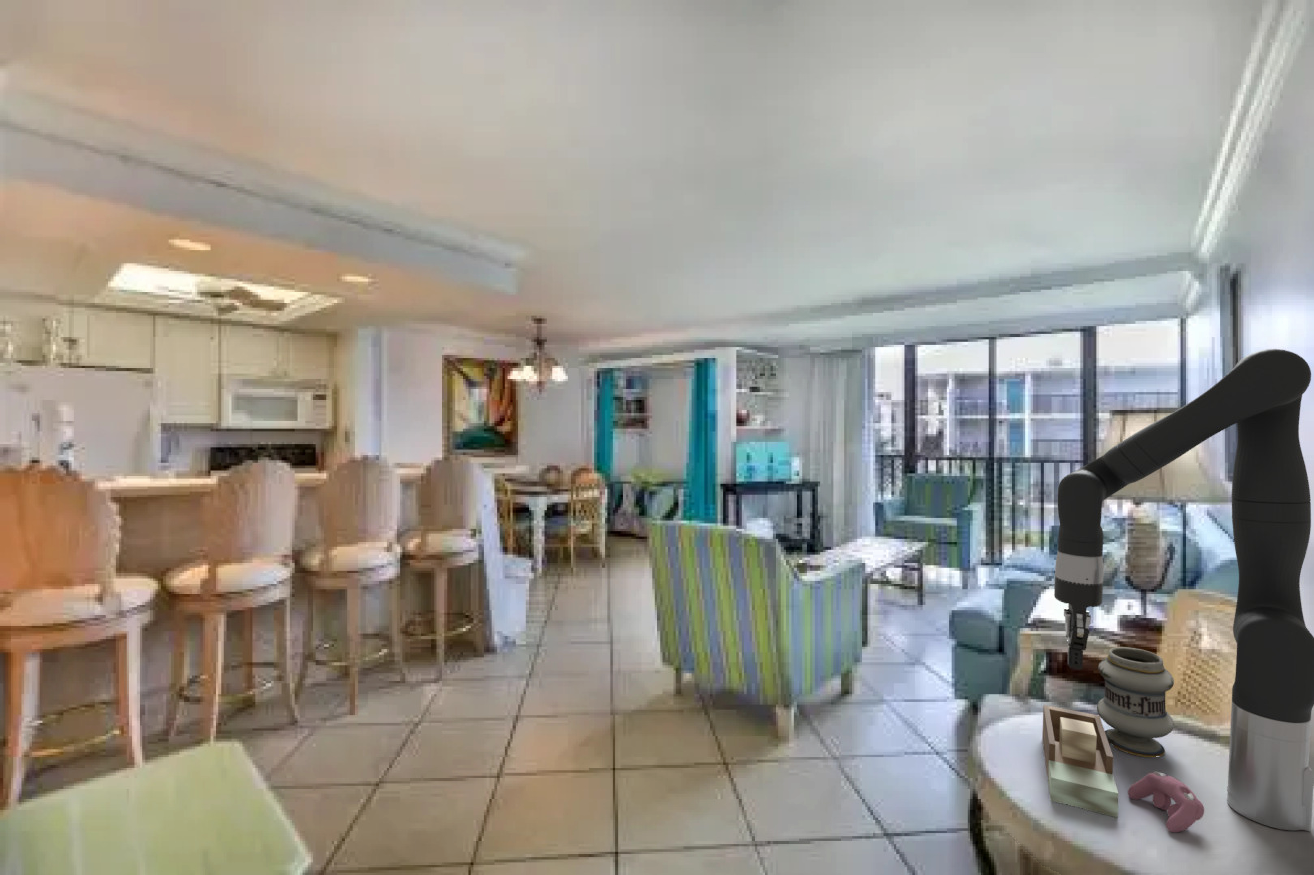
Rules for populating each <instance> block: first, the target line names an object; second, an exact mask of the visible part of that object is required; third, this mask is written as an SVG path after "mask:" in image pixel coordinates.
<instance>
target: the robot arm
mask: <svg viewBox="0 0 1314 875" xmlns="http://www.w3.org/2000/svg"><path fill="white" fill-rule="evenodd" d="M1311 381H1312V371H1311V368H1310V366H1309V363H1308V362H1307V361H1306V360H1305V359H1304V358H1303V357H1302V356H1301V355H1299V354H1297V353H1296V352H1292V351H1290V350H1286V349H1280V348H1279V349H1277V348H1269V349H1267V348H1266V349H1262V350H1257V351H1255V352H1252V353H1249V354H1248V355H1246V356H1244V357H1242V358H1241V359H1240V360H1239V361H1238V362H1237V363H1236V364H1235V365H1234V367H1233V368H1232V369H1231V370H1230V371H1229V372H1228V373H1227V374H1226V375H1224V376H1223V377H1222V378H1220V380H1219V381H1217V382H1216V383H1215V384H1214V385H1213V386H1212V387H1210V388H1209V389H1208V390H1206V391H1205V392H1203V393H1202V394H1200V395H1199V396H1197V397H1196V398H1194V399H1193V400H1192V401H1190V402H1188V403H1186V404H1185V405H1184V406H1182V407H1180V408H1179V409H1176V410H1175V411H1173V412H1171V413H1170V414H1167V415H1166V416H1164V417H1162V418H1160V419H1158V420H1156V421H1154V422H1152V423H1151V424H1149V425H1147V426H1145V427H1143V428H1142V429H1140V430H1138V431H1137V432H1135V433H1133V434H1132V435H1130V436H1129V437H1126V439H1124V440H1122V441H1121V442H1119V443H1117V444H1116V445H1115V446H1113V447H1111V448H1110V449H1109V450H1107V451H1106V452H1105V453H1104V454H1103V455H1101V456H1099V457H1098V458H1096V459H1094V460H1092V461H1091V462H1088V463H1087V464H1086V465H1083V466H1082V467H1080V468H1078V469H1076V470H1074V471H1073V472H1070V473H1068V474H1067V475H1064V477H1063V478H1062V479H1061V480H1060V481H1059V484H1058V488H1057V496H1056V498H1057V513H1058V520H1059V521H1058V522H1059V526H1058V535H1057V536H1058V539H1057V552H1056V553H1057V554H1056V558H1055V566H1054V568H1055V570H1054V572H1055V573H1054V594H1053V596H1054V598H1055V600H1057V601H1059V602H1060V603H1063V604H1068V605H1067V606H1068V608H1067V607H1065V608H1063V616H1064V619H1065V620H1064V631H1065V637H1066V643H1067V647H1068V649H1067V666H1068V668H1070V669H1074V670H1082V669H1083V660H1084V658H1083V657H1084V651H1086V650H1087V644H1088V640H1089V634H1090V625H1091V624H1092V622H1091V621H1092V619H1091V618H1092V616H1091V614H1090V611H1089V610H1087V608H1095V607H1099V606H1102V603H1103V593H1104V572H1105V571H1104V558H1103V552H1104V549H1103V548H1104V531H1103V528H1102V525H1101V524H1102V513H1103V512H1102V511H1103V510H1102V508H1103V501H1105V500H1106V499H1108V498H1110V497H1111V496H1113V495H1114V494H1116V493H1117V492H1119V491H1121V490H1123V489H1124V488H1125V487H1126V486H1128V485H1130V484H1134V483H1136V482H1138V481H1141V480H1143V479H1144V478H1146V477H1149V476H1150V475H1152V474H1154V473H1156V472H1157V471H1159V470H1161V469H1162V468H1164V467H1166V466H1167V465H1168V464H1171V463H1172V462H1174V461H1175V460H1177V459H1178V458H1180V457H1182V456H1183V455H1185V454H1186V453H1188V452H1189V451H1191V450H1192V449H1194V448H1195V447H1197V446H1199V445H1200V444H1203V442H1205V441H1207V440H1208V439H1210V438H1211V437H1213V436H1215V435H1217V434H1218V433H1220V432H1222V431H1224V430H1226V429H1228V428H1229V427H1232V426H1234V425H1236V430H1237V431H1236V432H1237V444H1236V450H1235V457H1234V463H1233V472H1232V479H1231V480H1232V481H1231V482H1232V483H1231V521H1232V533H1233V534H1232V535H1233V542H1234V551H1235V557H1236V561H1237V567H1238V586H1237V598H1236V604H1235V612H1234V618H1233V624H1232V625H1233V626H1232V631H1233V632H1232V633H1233V637H1234V640H1235V642H1236V660H1235V676H1234V677H1235V678H1234V682H1233V685H1232V688H1231V689H1232V690H1231V691H1232V692H1231V706H1230V707H1231V709H1230V710H1231V711H1230V731H1229V732H1230V733H1229V734H1230V735H1229V751H1228V752H1229V753H1228V773H1227V787H1226V791H1227V794H1226V796H1227V799H1226V801H1227V803H1228V805H1229V806H1230V807H1231V809H1233V811H1236V813H1238V814H1240V815H1241V816H1243V817H1245V818H1247V819H1249V820H1251V821H1254V822H1255V823H1259V824H1261V825H1264V826H1267V827H1270V828H1275V829H1278V830H1286V831H1301V830H1303V831H1306V832H1312V820H1313V819H1312V818H1313V799H1314V770H1313V769H1311V767H1310V766H1309V763H1310V762H1309V759H1310V758H1309V756H1310V744H1311V743H1310V742H1311V740H1310V739H1311V721H1312V709H1313V708H1314V635H1312V633H1311V632H1310V630H1309V628H1307V626H1306V621H1305V617H1304V613H1303V608H1302V605H1303V604H1302V598H1301V596H1302V595H1301V587H1300V586H1301V584H1300V583H1301V572H1302V569H1303V565H1304V561H1305V559H1306V554H1307V550H1308V546H1309V543H1310V538H1311V537H1310V536H1311V530H1312V529H1311V528H1312V512H1311V511H1312V510H1311V509H1312V508H1311V507H1312V506H1311V505H1312V504H1311V491H1310V490H1311V489H1310V483H1309V477H1308V472H1307V467H1306V463H1305V460H1304V459H1305V458H1304V456H1303V450H1302V447H1301V442H1300V433H1299V432H1300V430H1299V429H1300V427H1299V425H1300V417H1301V416H1300V415H1301V405H1302V399H1303V394H1305V392H1306V391H1307V390H1308V388H1309V386H1310V383H1311Z"/></svg>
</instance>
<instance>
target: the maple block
mask: <svg viewBox="0 0 1314 875" xmlns="http://www.w3.org/2000/svg"><path fill="white" fill-rule="evenodd" d="M1096 740H1097V735H1096V732H1095V729H1094V725H1093V723H1089V722H1084V721H1079V720H1074V719H1069V718H1064V717H1060V738H1059V744H1060V750H1061V755H1062V757H1067V758H1071V759H1076V760H1080V761H1085V762H1089V763H1094V764H1096Z"/></svg>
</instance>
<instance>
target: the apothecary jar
mask: <svg viewBox="0 0 1314 875" xmlns="http://www.w3.org/2000/svg"><path fill="white" fill-rule="evenodd" d="M1098 672H1099V674H1100V676H1101V677H1102V678H1103V679H1104V697H1102V698H1101V699H1100V700H1099V701H1098V702H1097V705H1096V711H1097V714H1098V715H1099V716H1100V719H1101V720H1103V722H1104V723H1106V725H1108V726H1110V728H1109V729H1106V730H1104V731H1105V734H1106V737H1107V740H1108V743H1109V745H1112V747H1114V748H1115V749H1117V750H1119V751H1121V752H1123V753H1127V754H1130V755H1133V756H1137V757H1141V758H1142V757H1143V758H1149V757H1155V758H1157V757H1156V756H1160V757H1162V755H1163V756H1164V755H1165V754H1166V749H1165V747H1164V746H1163V744H1161V743H1160V742H1159V741H1157V740H1156V739H1158V738H1163V737H1166V736H1168V735H1169V734H1170V733H1172V731H1173V730H1174V727H1175V724H1174V720H1173V718H1172V716H1171V715H1170V713H1169V712H1168V711H1167V710H1166V707H1167V706H1166V692H1168V691H1170V690H1171V689H1173V687H1174V684H1175V680H1174V677H1173V674H1171V672H1170V671H1168V670H1167V669H1166V668H1165V665H1164V660H1163V658H1162V657H1161V656H1160V655H1158V654H1156V653H1155V652H1152V651H1148V650H1144V649H1141V648H1134V647H1125V646H1117V647H1112V648H1110V649H1109V651H1108V654H1107V657H1105V658H1103V659H1102V660H1101V661H1100V662H1099V663H1098ZM1164 753H1165V754H1164Z"/></svg>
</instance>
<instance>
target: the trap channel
mask: <svg viewBox="0 0 1314 875" xmlns="http://www.w3.org/2000/svg"><path fill="white" fill-rule="evenodd" d="M1042 710H1043V711H1042V713H1043V714H1042V738H1041V741H1042V747H1043V754H1044V761H1045V762H1044V763H1045V769H1046V776H1047V785H1048V791H1049V792H1048V793H1049V798H1050V799H1049V800H1050V802H1054V803H1058V804H1062V803H1063V804H1062V805H1066V804H1068V805H1067V806H1070V805H1071V807H1074V806H1075V808H1078V807H1080V808H1079V809H1082V808H1083V809H1082V810H1086V811H1090V812H1094V813H1098V812H1099V813H1098V814H1102V815H1106V816H1110V817H1114V818H1119V816H1118V814H1119V791H1118V787H1117V785H1116V781H1115V778H1114V774H1113V771H1114V755H1113V753H1112V749H1111V747H1110V743H1108V740H1107V737H1106V734H1105V731H1106V730H1105V727H1104V725H1103V722H1102V718H1101V717H1100V716H1099V714H1098V715H1097V714H1093V713H1087V712H1083V711H1078V710H1072V709H1066V708H1061V707H1057V706H1051V705H1046V704H1043V707H1042ZM1060 717H1064V718H1069V719H1074V720H1079V721H1084V722H1089V723H1093V725H1094V729H1095V732H1096V735H1097V740H1096V764H1094V763H1089V762H1085V761H1080V760H1076V759H1071V758H1067V757H1062V755H1061V750H1060V744H1059V738H1060Z"/></svg>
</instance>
